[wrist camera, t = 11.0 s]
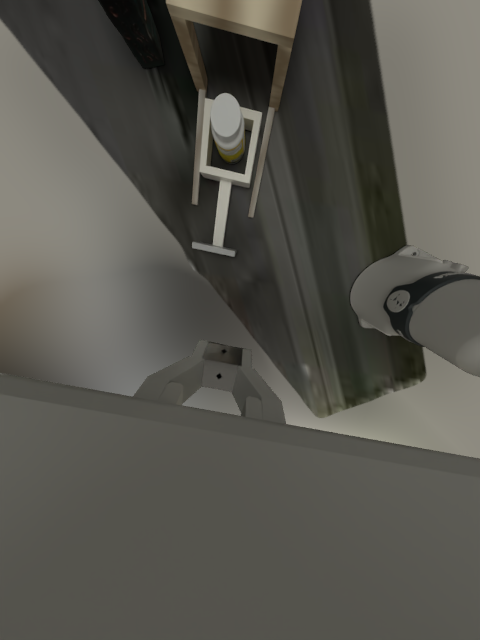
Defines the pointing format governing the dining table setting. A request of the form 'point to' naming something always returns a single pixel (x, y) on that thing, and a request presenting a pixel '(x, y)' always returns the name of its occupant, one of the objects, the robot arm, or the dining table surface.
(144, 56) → the green backpack
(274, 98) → the tunnel
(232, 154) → the supplement bottle
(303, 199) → the dining table surface
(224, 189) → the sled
